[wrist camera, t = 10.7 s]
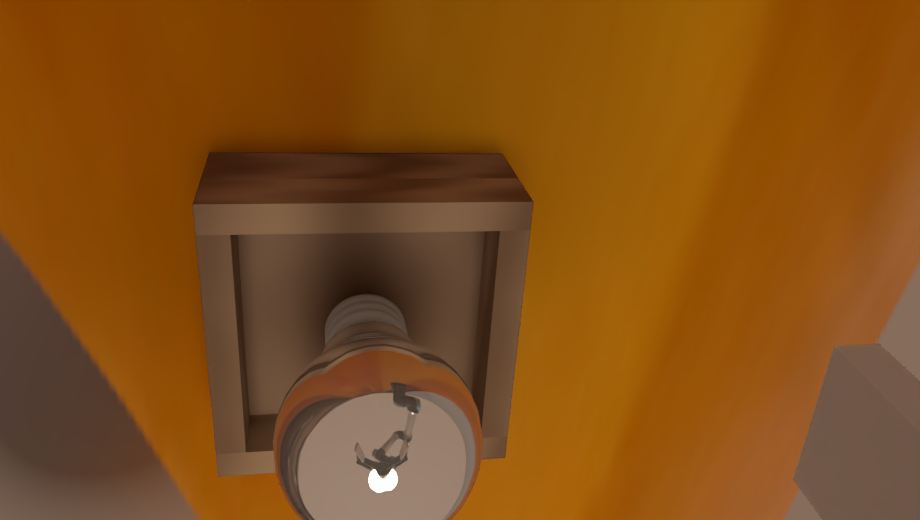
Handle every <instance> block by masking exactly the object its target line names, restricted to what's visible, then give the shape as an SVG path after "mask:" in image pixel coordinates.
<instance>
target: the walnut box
mask: <svg viewBox="0 0 920 520" xmlns="http://www.w3.org/2000/svg"><path fill="white" fill-rule="evenodd" d="M532 211H533V200H532V199H531V197H530V196H529V194H528V193H527V191H526V190H525V188H524V186H523V185H522V183H521V182H520V180H519V179H518V177H517V176H516V174H515V173H514V171H513V169H512V168H511V166H510V165H509V163H508V162H507V160H506V159H505V157H504V156H503V154H418V153H209V156H208V159H207V162H206V165H205V168H204V171H203V174H202V177H201V180H200V183H199V186H198V189H197V192H196V196H195V199H194V202H193V214H194V225H195V235H196V246H197V257H198V267H199V278H200V289H201V299H202V310H203V321H204V331H205V342H206V353H207V363H208V374H209V385H210V395H211V406H212V417H213V427H214V438H215V448H216V459H217V470H218V477H221V476H237V475H252V474H267V473H276V472H275V464H274V453H273V436H274V430H275V425H276V420H277V415H278V411H279V408H280V406H281V404H282V402H283V399H284V397H285V395H286V393H287V392H288V390H289V388H290V387H291V385H292V383H293V382H294V381H295V379H296V378H297V377H298V375H299V374H300V373H301V371H302V370H304V369H305V368H306V367H307V366H308V365H309V364H310V363H311V362H312V361H314V360H315V359H316V358H317V357H318V356H320V355H321V354H322V352H323V350H324V348H325V324H326V321H327V318H328V316H329V314H330V313H331V311H332V310H333V309H334V308H335V307H336V306H337V305H338V304H339V303H340V302H342V301H343V300H345V299H347V298H349V297H352V296H356V295H361V294H373V295H378V296H382V297H384V298H386V299H388V300H390V301H391V302H393V303H394V304H395V305H396V306H397V307H398V308H399V310H400V311H401V313H402V315H403V317H404V320H405V325H406V329H407V334H408V336H409V337H410V338H411V340H412V341H413V342H415V343H417V344H419V345H422V346H424V347H425V348H427V349H429V350H431V351H433V352H435V353H437V354H438V355H439V356H440V357H441V358H443V359H444V360H445V361H446V362H447V363H449V364H450V365H451V366H452V367H453V368H454V369H455V370H456V372H457V373H458V374H459V375H460V377H461V378H462V379H463V381H464V382H465V383H466V385H467V387H468V389H469V391H470V393H471V395H472V397H473V400H474V402H475V404H476V406H477V409H478V412H479V418H480V424H481V430H482V437H483V445H482V456H481V459H495V458H505V453H506V444H507V435H508V426H509V417H510V408H511V399H512V390H513V381H514V372H515V363H516V354H517V345H518V336H519V327H520V318H521V309H522V300H523V291H524V283H525V274H526V265H527V256H528V247H529V238H530V229H531V220H532Z"/></svg>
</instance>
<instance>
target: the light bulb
mask: <svg viewBox="0 0 920 520" xmlns="http://www.w3.org/2000/svg"><path fill="white" fill-rule="evenodd" d="M482 445H483V437H482V430H481V424H480V418H479V412H478V409H477V406H476V404H475V402H474V400H473V397H472V395H471V393H470V391H469V389H468V387H467V385H466V383H465V382H464V381H463V379H462V378H461V377H460V375H459V374H458V373H457V372H456V370H455V369H454V368H453V367H452V366H451V365H450V364H449V363H447V362H446V361H445V360H444V359H443V358H441V357H440V356H439V355H438V354H437V353H435V352H433V351H431V350H429V349H427V348H425V347H424V346H422V345H419V344H417V343H415V342H413V341H412V340H411V338H410V337H409V336H408V334H407V329H406V325H405V320H404V317H403V315H402V313H401V311H400V310H399V308H398V307H397V306H396V305H395V304H394V303H393V302H391V301H390V300H388V299H386V298H384V297H382V296H378V295H373V294H361V295H356V296H352V297H349V298H347V299H345V300H343V301H342V302H340V303H339V304H338V305H337V306H336V307H335V308H334V309H333V310H332V311H331V313H330V314H329V316H328V318H327V321H326V324H325V348H324V350H323V352H322V354H321V355H320V356H318V357H317V358H316V359H315V360H314V361H312V362H311V363H310V364H309V365H308V366H307V367H306V368H305V369H304V370H302V371H301V373H300V374H299V375H298V377H297V378H296V379H295V381H294V382H293V383H292V385H291V387H290V388H289V390H288V392H287V393H286V395H285V397H284V399H283V402H282V404H281V406H280V408H279V411H278V415H277V420H276V425H275V430H274V436H273V453H274V464H275V472H276V475H277V478H278V481H279V484H280V487H281V489H282V491H283V494H284V496H285V498H286V500H287V502H288V503H289V505H290V506H291V508H292V509H293V511H294V512H295V513H296V515H297V516H298V517H299V518H300V519H301V520H452V519H453V518H454V516H455V515H456V514H457V513H458V512H459V511H460V510H461V508H462V507H463V505H464V504H465V502H466V500H467V498H468V497H469V495H470V493H471V491H472V489H473V487H474V484H475V482H476V479H477V476H478V473H479V470H480V463H481V456H482Z"/></svg>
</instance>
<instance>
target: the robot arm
mask: <svg viewBox="0 0 920 520" xmlns="http://www.w3.org/2000/svg"><path fill="white" fill-rule="evenodd" d="M793 480H794V481H795V483H796V484H797V486H798V487H799V488H800V490H801V491H802V492H803V494H804V495H805V496H806V498H807V499H808V501H809V502H810V504H811V505H812V506H813V507H814V509H815V510H816V512H817V513H818V515H819V516H820V517H821V518H822V520H920V381H919V380H918V379H917V378H916V377H915V376H914V375H913V374H912V373H910V372H909V371H908V370H907V369H906V368H905V367H904V366H903V365H902V364H901V363H900V362H898V361H897V360H896V359H895V358H894V357H893V356H892V355H891V354H890V353H889V352H888V351H886V350H885V349H884V348H883V347H882V346H881V345H880V344H864V345H847V346H834V349H833V353H832V356H831V359H830V362H829V366H828V369H827V372H826V375H825V378H824V382H823V385H822V388H821V391H820V395H819V398H818V401H817V404H816V408H815V411H814V414H813V417H812V421H811V424H810V427H809V430H808V434H807V437H806V440H805V443H804V447H803V450H802V453H801V456H800V460H799V463H798V466H797V469H796V473H795V476H794V479H793Z"/></svg>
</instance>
